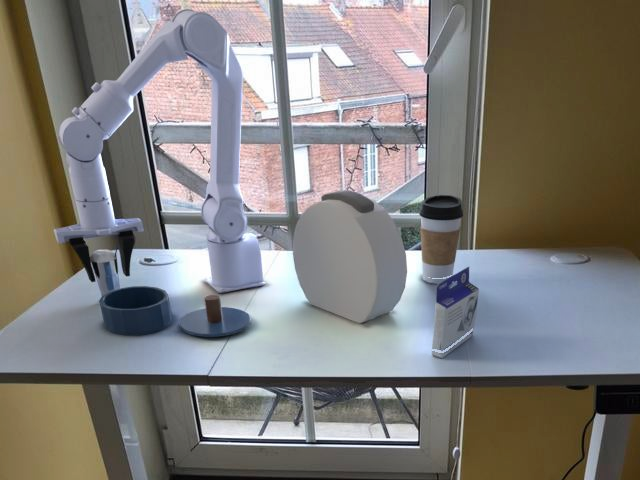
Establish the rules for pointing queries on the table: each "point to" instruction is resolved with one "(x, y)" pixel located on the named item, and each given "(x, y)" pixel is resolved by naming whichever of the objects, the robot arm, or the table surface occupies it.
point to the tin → (136, 310)
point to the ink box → (454, 312)
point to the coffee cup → (439, 235)
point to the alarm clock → (349, 256)
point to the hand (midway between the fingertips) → (109, 277)
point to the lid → (214, 319)
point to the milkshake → (105, 270)
